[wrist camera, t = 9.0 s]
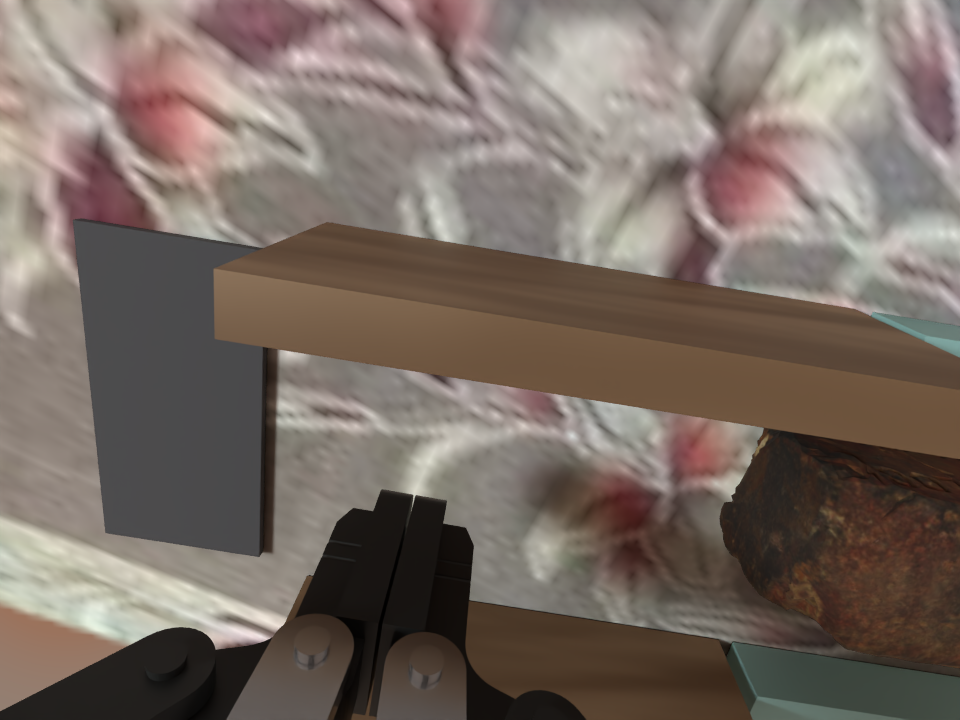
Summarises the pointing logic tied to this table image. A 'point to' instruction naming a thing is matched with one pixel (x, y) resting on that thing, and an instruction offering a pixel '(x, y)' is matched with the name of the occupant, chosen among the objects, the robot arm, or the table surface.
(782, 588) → the brick
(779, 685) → the bay
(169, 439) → the pad
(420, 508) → the robot arm
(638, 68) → the table surface
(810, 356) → the trench
